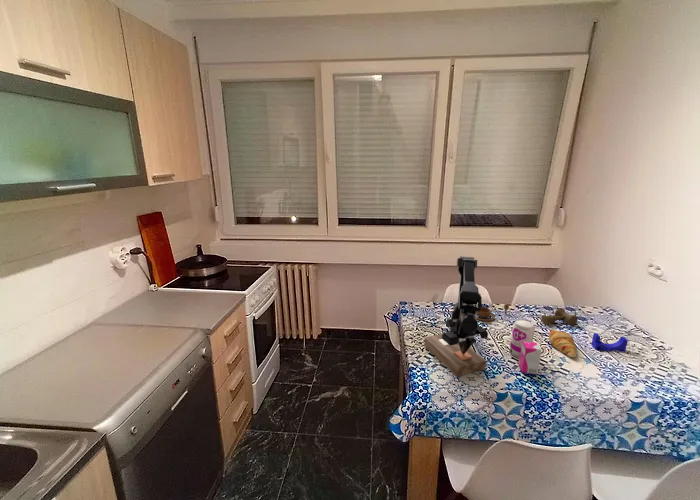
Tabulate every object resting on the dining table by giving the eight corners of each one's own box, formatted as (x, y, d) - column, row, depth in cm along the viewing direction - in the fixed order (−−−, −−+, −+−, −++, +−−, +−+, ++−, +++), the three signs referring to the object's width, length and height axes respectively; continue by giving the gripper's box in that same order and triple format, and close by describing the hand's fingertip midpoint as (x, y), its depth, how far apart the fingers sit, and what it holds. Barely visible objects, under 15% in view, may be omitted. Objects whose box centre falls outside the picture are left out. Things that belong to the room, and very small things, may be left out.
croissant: (578, 367, 143) (591, 353, 140) (558, 356, 142) (571, 342, 140) (555, 340, 163) (565, 328, 161) (537, 330, 163) (548, 318, 160)
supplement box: (533, 366, 137) (537, 342, 134) (537, 375, 131) (542, 350, 128) (518, 364, 138) (522, 340, 135) (521, 373, 133) (526, 348, 130)
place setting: (469, 309, 190) (470, 299, 189) (507, 313, 185) (508, 303, 184) (472, 323, 174) (473, 313, 172) (513, 328, 169) (515, 318, 167)
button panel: (449, 339, 157) (450, 332, 156) (485, 369, 135) (486, 360, 134) (424, 345, 152) (424, 337, 151) (456, 376, 130) (457, 367, 129)
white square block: (446, 344, 152) (446, 337, 151) (452, 350, 148) (453, 343, 147) (437, 346, 150) (437, 339, 149) (443, 352, 146) (444, 345, 145)
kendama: (536, 320, 178) (567, 316, 182) (550, 329, 169) (582, 324, 173) (538, 310, 176) (569, 306, 180) (552, 319, 167) (585, 314, 171)
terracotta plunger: (463, 357, 141) (464, 350, 140) (470, 363, 136) (471, 356, 135) (453, 359, 139) (454, 352, 138) (461, 365, 135) (461, 358, 134)
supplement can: (521, 361, 140) (527, 329, 136) (505, 351, 148) (509, 321, 143) (534, 356, 144) (539, 325, 140) (517, 347, 151) (522, 317, 147)
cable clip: (595, 349, 150) (597, 337, 149) (591, 344, 154) (593, 333, 153) (626, 354, 147) (629, 342, 145) (621, 348, 151) (624, 337, 149)
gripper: (472, 307, 143) (468, 339, 147) (435, 314, 137) (432, 347, 141) (491, 319, 133) (486, 353, 137) (452, 326, 127) (448, 362, 131)
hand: (463, 353), depth 137 cm, fingers closed
